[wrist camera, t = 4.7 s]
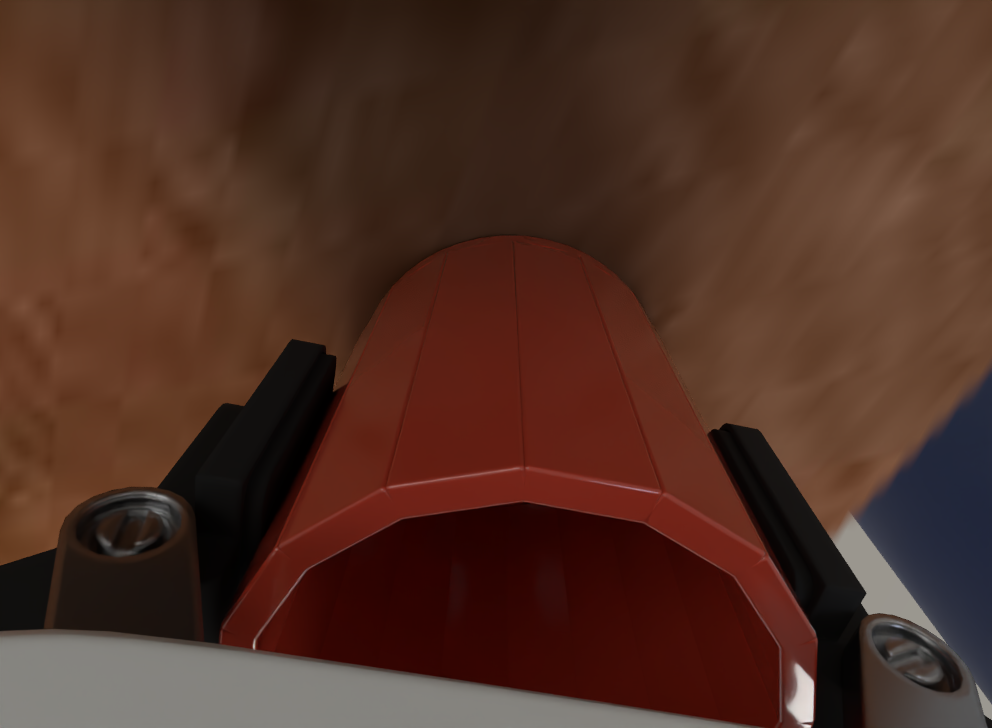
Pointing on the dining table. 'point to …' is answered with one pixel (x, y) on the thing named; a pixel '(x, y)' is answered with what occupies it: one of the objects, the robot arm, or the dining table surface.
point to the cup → (527, 506)
